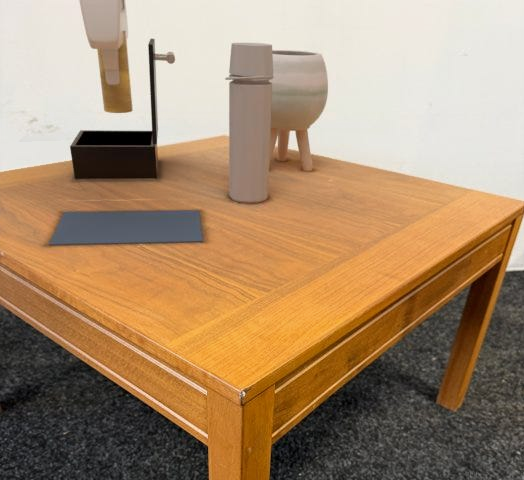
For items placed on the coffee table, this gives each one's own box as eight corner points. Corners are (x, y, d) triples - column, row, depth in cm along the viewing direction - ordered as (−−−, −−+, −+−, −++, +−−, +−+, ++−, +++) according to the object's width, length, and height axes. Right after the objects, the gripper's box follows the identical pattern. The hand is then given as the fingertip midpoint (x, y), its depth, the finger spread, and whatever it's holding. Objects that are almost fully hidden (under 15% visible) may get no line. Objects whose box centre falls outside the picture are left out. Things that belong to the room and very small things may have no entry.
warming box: (75, 183, 106) (69, 146, 102) (84, 163, 118) (80, 130, 114) (157, 182, 108) (155, 146, 104) (158, 163, 120) (156, 130, 116)
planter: (277, 155, 130) (282, 47, 118) (334, 168, 122) (346, 54, 109) (232, 167, 119) (232, 50, 107) (291, 183, 111) (299, 58, 99)
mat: (49, 247, 79) (48, 244, 78) (64, 215, 90) (64, 211, 90) (203, 244, 82) (203, 240, 81) (198, 213, 93) (198, 209, 93)
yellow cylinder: (102, 113, 77) (93, 30, 72) (105, 108, 80) (96, 29, 75) (132, 113, 78) (124, 31, 72) (133, 108, 81) (126, 30, 75)
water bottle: (277, 201, 100) (285, 45, 87) (243, 208, 96) (245, 46, 83) (247, 188, 106) (250, 41, 93) (213, 195, 102) (211, 41, 89)
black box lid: (148, 44, 95) (175, 45, 96) (150, 38, 107) (174, 40, 108) (152, 144, 104) (177, 144, 105) (154, 128, 116) (176, 129, 117)
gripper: (86, -37, 78) (99, 72, 85) (64, -46, 61) (82, 91, 68) (132, -35, 78) (140, 73, 86) (123, -43, 61) (134, 92, 69)
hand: (115, 81), depth 77 cm, fingers closed on yellow cylinder, 4 cm apart
